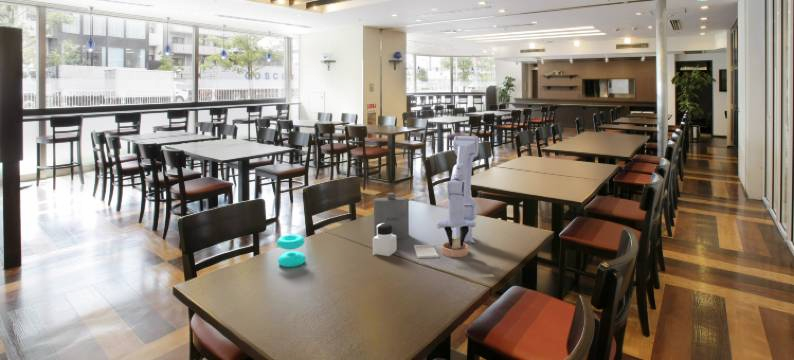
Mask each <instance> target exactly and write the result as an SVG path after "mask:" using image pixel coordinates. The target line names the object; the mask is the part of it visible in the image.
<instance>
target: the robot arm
mask: <svg viewBox="0 0 794 360" xmlns="http://www.w3.org/2000/svg"><path fill="white" fill-rule="evenodd" d="M479 146H480V138H479V137H478V135H475V136H473V135H471V136H470V135H455V136H454V138H453V146H452V147H453V150H454V154H455V155H456V164H455V165H454V166H453V167H452V172H451V177H450V180H449V181H448V182H447V199H448V220H447V221H439V222H438V221H437V222H436V228H437V229H444V231H445V234H446V236H447V239H448V240H447V241H448V242H449V246H450V247H452V237H460V238H461V246H463V243H465V242H466V243H467V242H470V243H471V244H475V243H476V242H475V240H474V239H473V238H474V237H473V228H476V225H477V223H476V221H475V220H476V218H477V211H478V210H477V209H478V208H477V201H476V200H474V199H473V198H472V197H471V188H472V186H471V185H472V171H473V161H474V159H475V158H476V157H478V155H479V148H480V147H479ZM452 228H453V229H452ZM453 231H454V232H453ZM453 235H454V236H453Z"/></svg>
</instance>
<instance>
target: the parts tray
mask: <svg viewBox="0 0 794 360" xmlns="http://www.w3.org/2000/svg"><path fill="white" fill-rule="evenodd" d="M413 248H414V251H415V255H416V257H417V259H429V258H430V259H432V258H439V257H440V255H439V254H438V252H437V251H436V249H435V244H414V245H413Z"/></svg>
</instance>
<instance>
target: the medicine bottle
mask: <svg viewBox="0 0 794 360" xmlns="http://www.w3.org/2000/svg"><path fill="white" fill-rule="evenodd" d="M396 251H397V239H396V235H392V225H391V224H388V223H381V224H378V225H377V236H375V237H374V236H373V237H372V255H373V256H375V255H380V256H386V257H391V256H392V254H394V253H396Z"/></svg>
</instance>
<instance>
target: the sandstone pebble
mask: <svg viewBox="0 0 794 360" xmlns="http://www.w3.org/2000/svg"><path fill="white" fill-rule="evenodd" d="M452 248H454V249H458V250H460V249H459V248H461V238H460V237H455V236H452Z"/></svg>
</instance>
